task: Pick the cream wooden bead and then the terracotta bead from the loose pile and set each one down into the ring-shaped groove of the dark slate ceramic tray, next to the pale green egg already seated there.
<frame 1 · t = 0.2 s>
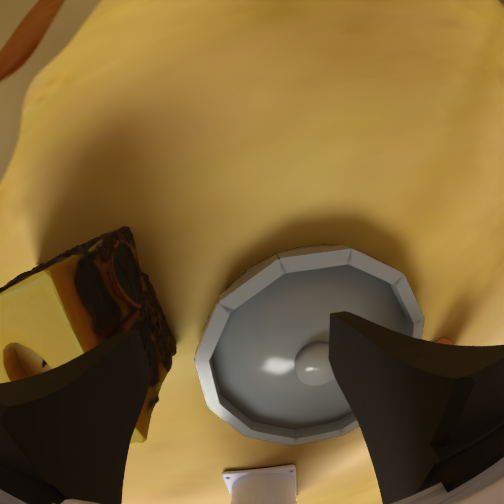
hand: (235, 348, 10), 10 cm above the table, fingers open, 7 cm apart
groove tray: (313, 353, 22), on the table
yellow black patterned cube: (101, 305, 20), on the table
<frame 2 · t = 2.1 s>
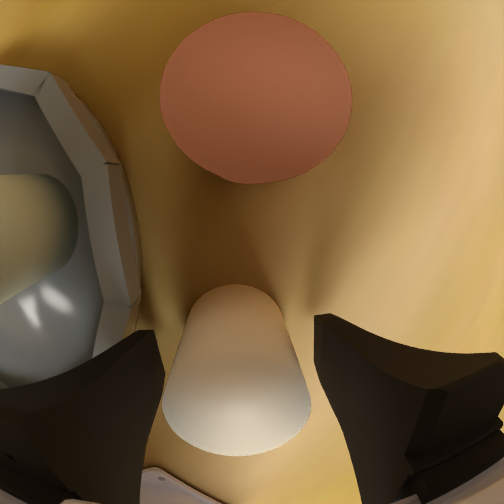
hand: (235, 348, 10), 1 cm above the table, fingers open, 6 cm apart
bead a: (235, 329, 12), on the table
bead b: (248, 130, 10), on the table
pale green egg: (39, 224, 9), point 1 cm above the table, touching groove tray
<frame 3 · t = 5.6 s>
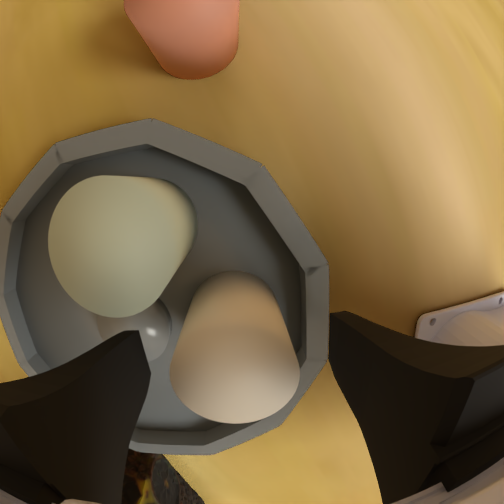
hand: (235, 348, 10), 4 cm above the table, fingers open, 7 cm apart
bead a: (234, 312, 13), point 1 cm above the table, touching groove tray
groove tray: (143, 312, 14), on the table
yellow black patterned cube: (133, 475, 18), on the table
bead b: (196, 44, 11), on the table
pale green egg: (152, 224, 12), point 1 cm above the table, touching groove tray
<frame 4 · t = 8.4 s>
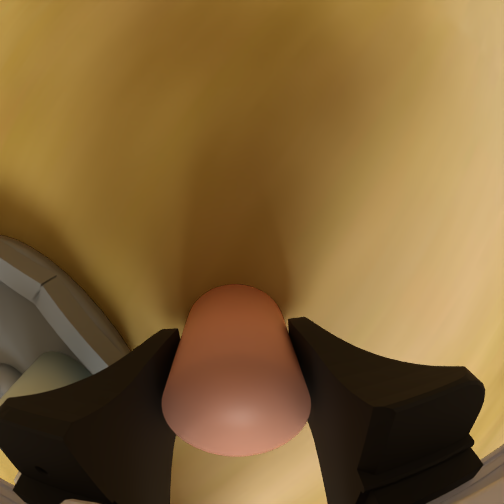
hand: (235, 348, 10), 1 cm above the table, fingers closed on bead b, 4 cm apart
groove tray: (25, 379, 12), on the table
bead b: (235, 330, 12), on the table, touching gripper
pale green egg: (68, 385, 11), point 1 cm above the table, touching groove tray
when the fingers open (4 cm above the table, at t = 11.1 s): bead b drops 1 cm, resting on groove tray.
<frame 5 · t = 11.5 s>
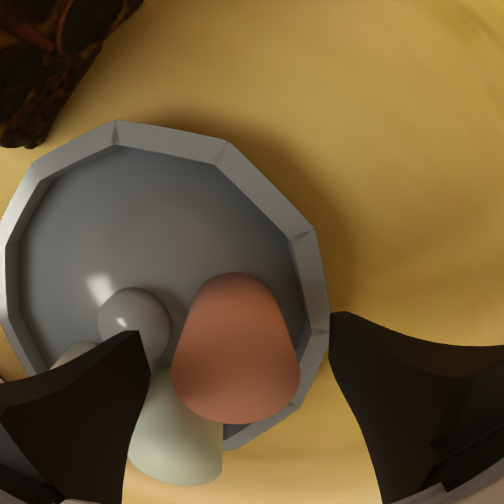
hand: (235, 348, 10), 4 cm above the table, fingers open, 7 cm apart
bead a: (95, 371, 14), point 1 cm above the table, touching groove tray
groove tray: (143, 312, 14), on the table
yellow black patterned cube: (41, 49, 10), on the table
bead b: (235, 314, 13), point 1 cm above the table, touching groove tray
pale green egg: (187, 392, 14), point 1 cm above the table, touching groove tray
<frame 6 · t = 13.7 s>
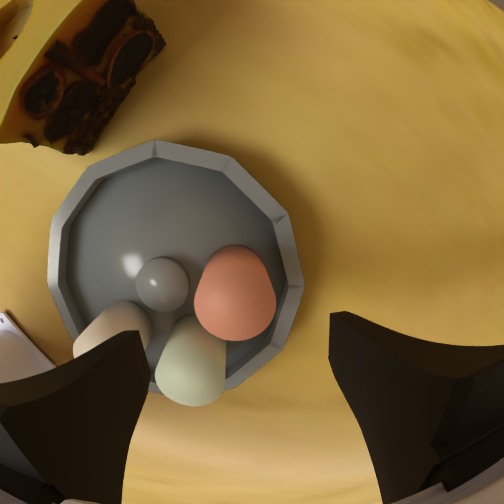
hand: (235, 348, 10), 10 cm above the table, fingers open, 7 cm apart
bead a: (127, 325, 19), point 1 cm above the table, touching groove tray
groove tray: (167, 277, 20), on the table
yellow black patterned cube: (82, 75, 16), on the table
bead b: (235, 274, 19), point 1 cm above the table, touching groove tray
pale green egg: (198, 338, 20), point 1 cm above the table, touching groove tray
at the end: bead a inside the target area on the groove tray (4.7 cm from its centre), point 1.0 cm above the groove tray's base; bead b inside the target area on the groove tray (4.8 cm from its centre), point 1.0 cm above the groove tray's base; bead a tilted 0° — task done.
